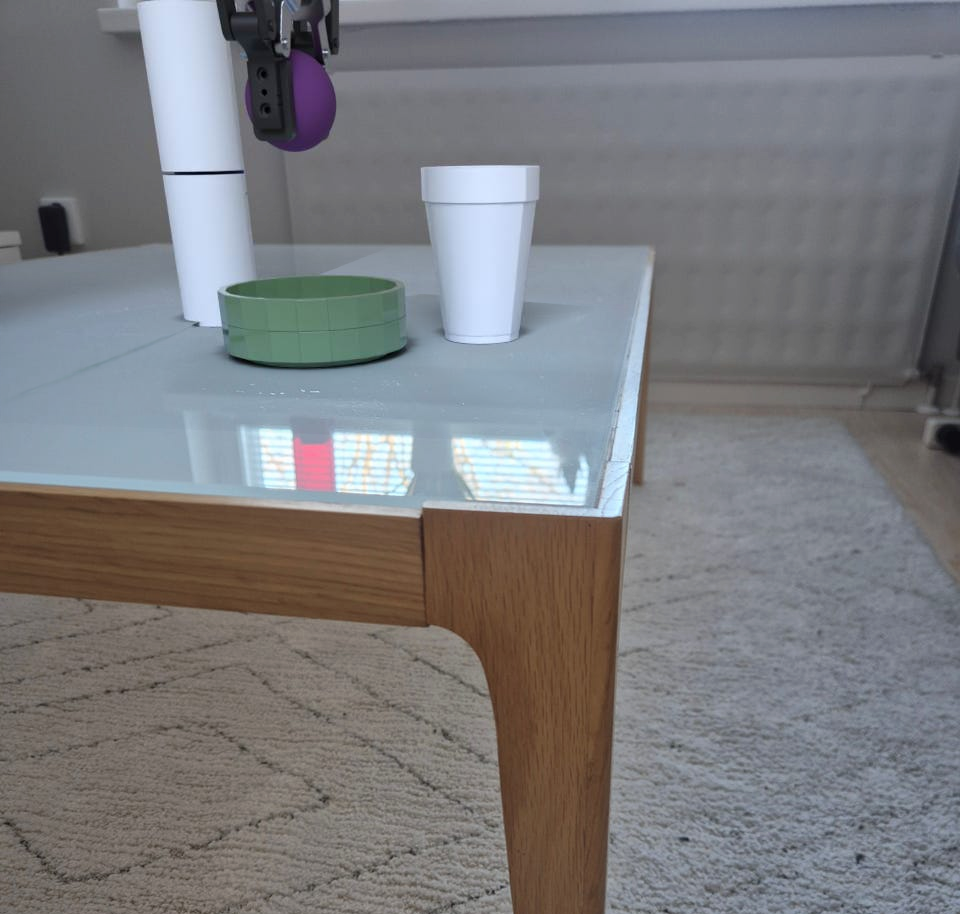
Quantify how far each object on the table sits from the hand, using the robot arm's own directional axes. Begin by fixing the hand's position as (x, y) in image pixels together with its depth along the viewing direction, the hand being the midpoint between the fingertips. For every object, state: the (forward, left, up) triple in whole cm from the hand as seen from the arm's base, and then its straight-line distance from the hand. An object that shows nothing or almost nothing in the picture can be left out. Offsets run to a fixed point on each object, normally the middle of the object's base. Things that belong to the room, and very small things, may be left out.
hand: (293, 139), depth 53 cm
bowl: (-5, +16, -15) cm, 23 cm away
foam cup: (+7, +24, -15) cm, 29 cm away
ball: (0, 0, +2) cm, 2 cm away
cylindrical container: (-19, +30, -15) cm, 39 cm away
